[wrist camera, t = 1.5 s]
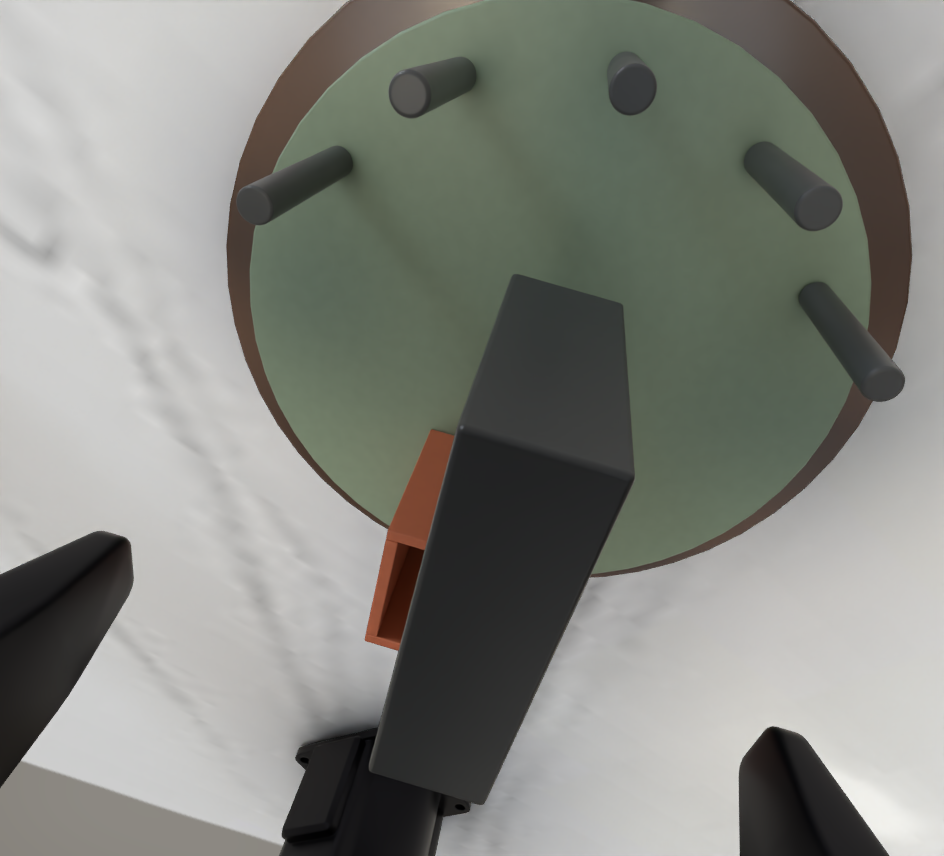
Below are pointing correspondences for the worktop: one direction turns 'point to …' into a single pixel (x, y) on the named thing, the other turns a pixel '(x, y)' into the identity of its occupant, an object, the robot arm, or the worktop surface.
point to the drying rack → (549, 328)
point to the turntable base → (715, 7)
